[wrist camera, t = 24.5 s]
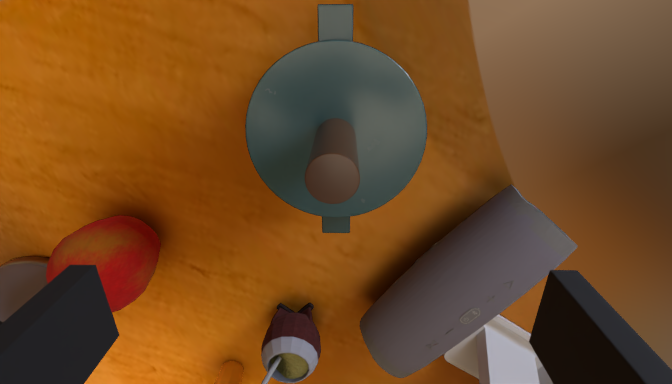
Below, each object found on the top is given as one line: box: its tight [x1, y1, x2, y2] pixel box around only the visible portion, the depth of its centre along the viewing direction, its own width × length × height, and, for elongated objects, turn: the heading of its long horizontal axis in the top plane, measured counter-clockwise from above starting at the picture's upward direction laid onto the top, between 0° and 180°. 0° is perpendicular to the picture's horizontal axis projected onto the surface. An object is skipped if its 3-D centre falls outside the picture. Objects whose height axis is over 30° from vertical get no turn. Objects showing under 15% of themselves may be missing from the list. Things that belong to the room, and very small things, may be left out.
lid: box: [245, 40, 427, 217], centre depth 24 cm, size 13×13×9 cm
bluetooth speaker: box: [360, 185, 577, 378], centre depth 40 cm, size 23×9×10 cm, turn 141°
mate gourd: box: [261, 303, 321, 384], centre depth 42 cm, size 8×8×15 cm
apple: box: [46, 215, 161, 312], centre depth 38 cm, size 9×9×12 cm
